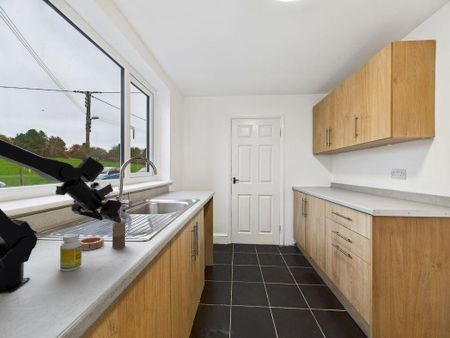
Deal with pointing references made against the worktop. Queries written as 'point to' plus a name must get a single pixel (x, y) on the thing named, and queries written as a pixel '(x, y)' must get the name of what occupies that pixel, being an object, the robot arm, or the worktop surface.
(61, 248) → the supplement bottle
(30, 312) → the worktop surface
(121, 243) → the brown cylinder
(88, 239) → the ring
